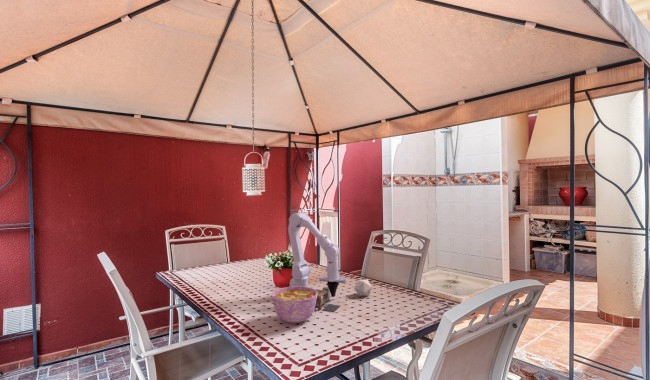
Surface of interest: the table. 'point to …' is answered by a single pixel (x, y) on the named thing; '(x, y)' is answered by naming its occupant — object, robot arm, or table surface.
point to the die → (363, 288)
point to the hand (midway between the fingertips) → (333, 296)
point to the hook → (324, 296)
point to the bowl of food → (294, 303)
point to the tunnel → (320, 294)
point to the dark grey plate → (331, 308)
